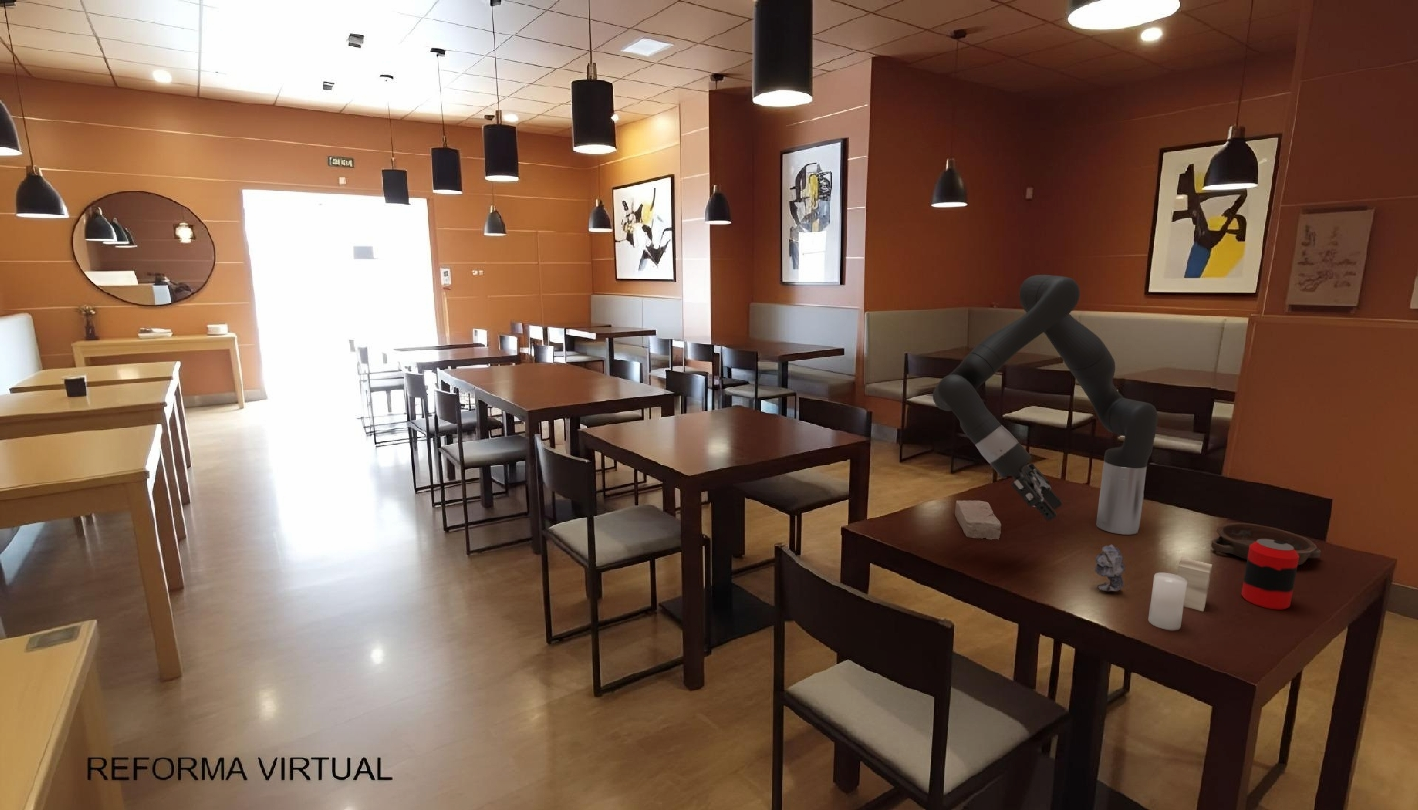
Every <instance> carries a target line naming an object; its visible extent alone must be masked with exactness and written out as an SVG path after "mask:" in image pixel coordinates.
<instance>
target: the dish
mask: <svg viewBox="0 0 1418 810" xmlns="http://www.w3.org/2000/svg"><path fill="white" fill-rule="evenodd" d="M1216 533H1217V534H1218V537H1217V538H1215V539H1213V540H1212V541H1211V543H1210V547H1211V549H1213V550H1215V551H1217V552H1220V553H1225V554H1232V555H1234V556H1237V557H1238V558H1241V559H1243V560H1245V561H1247V558H1248V552H1249V546H1250V545H1251V544H1253V543H1254V542H1256V541H1257V540H1258V539H1271V540H1277V541H1281V542H1284V543H1287V544H1289V545H1291V546H1293V547H1294V549H1295V551H1296V552H1297V554H1298V555H1299V560H1298V565H1297V566H1301V565H1303V564H1304V563H1305V562H1306V561H1307V560H1308V559H1319V558H1320V556H1321V552H1322V551H1321V549H1319V548H1317V545H1316V544H1315V543H1314V542H1313V541H1312V540H1310V539H1309V538H1307V537H1304V536H1302V535H1299V534H1296V533H1293V532H1292V531H1291V532H1290V531H1286V530H1283V529H1279V528H1276V527H1271V526H1266V525H1260V524H1255V523H1247V522H1246V523H1245V522H1228V523H1224V524H1220V525H1219V526H1217V528H1216Z"/></svg>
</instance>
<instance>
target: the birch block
mask: <svg viewBox="0 0 1418 810" xmlns="http://www.w3.org/2000/svg"><path fill="white" fill-rule="evenodd" d="M1212 567H1213V563H1212V564H1211V563H1208V562H1207V563H1206V562H1202V561H1198V560H1194V559H1190V558H1186V557H1181V558H1180V560H1179V562H1178V565H1177V568H1176V569H1177V570H1176V571H1177V572H1176V575H1178V576H1181V577H1183V578H1184V579H1186V580H1187V587H1186V593H1185V600H1184V607H1185V608H1188V609H1193V610H1196V611H1199V612H1200V611H1201V612H1204V610H1205V607H1206V604H1207V599H1208V593H1209V586H1210V579H1211V575H1212Z"/></svg>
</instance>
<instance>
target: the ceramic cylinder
mask: <svg viewBox="0 0 1418 810" xmlns="http://www.w3.org/2000/svg"><path fill="white" fill-rule="evenodd" d="M1152 583H1153V585H1152V590H1151V598H1150V605H1149V611H1148V619H1147V621H1148V622H1149V623H1150V624H1151V625H1153V626H1154V627H1157V628H1159V629H1163V630H1166V631H1178V630H1180V629H1181V625H1182V619H1183V612H1184V607H1185V606H1184V600H1185V593H1186V587H1187V580H1186V579H1184V578H1183V577H1181V576H1178V575H1177V574H1174V573H1172V572H1171V573H1170V572H1156V573H1155V574H1154V577H1153V582H1152Z"/></svg>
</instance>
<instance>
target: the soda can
mask: <svg viewBox="0 0 1418 810" xmlns="http://www.w3.org/2000/svg"><path fill="white" fill-rule="evenodd" d="M1298 560H1299V555H1298V554H1297V552H1296V551H1295V549H1294V547H1293V546H1291V545H1289V544H1287V543H1284V542H1281V541H1277V540H1271V539H1258V540H1257V541H1256V542H1254V543H1253V544H1251V545H1250V546H1249V552H1248V558H1247V560H1246V565H1245V571H1244V576H1243V583H1242V590H1241V596H1242V598H1243V599H1244V600H1245V601H1247V602H1248V603H1250V604H1253V605H1255V606H1258V607H1262V608H1265V609H1270V610H1277V611H1278V610H1285V609H1288V608H1290V606H1291V601H1292V597H1293V593H1294V592H1293V591H1294V587H1295V582H1296V581H1295V580H1296V577H1297V576H1296V575H1297V570H1298V566H1299V565H1298Z"/></svg>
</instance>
